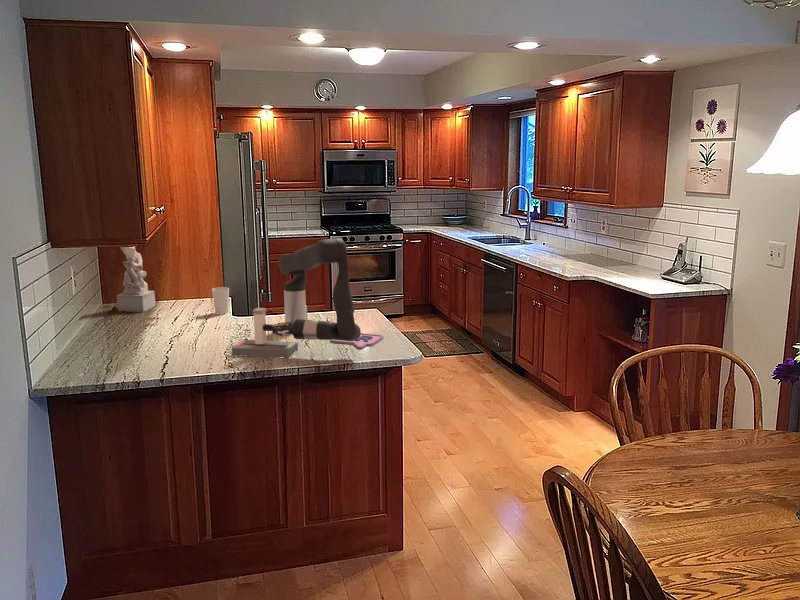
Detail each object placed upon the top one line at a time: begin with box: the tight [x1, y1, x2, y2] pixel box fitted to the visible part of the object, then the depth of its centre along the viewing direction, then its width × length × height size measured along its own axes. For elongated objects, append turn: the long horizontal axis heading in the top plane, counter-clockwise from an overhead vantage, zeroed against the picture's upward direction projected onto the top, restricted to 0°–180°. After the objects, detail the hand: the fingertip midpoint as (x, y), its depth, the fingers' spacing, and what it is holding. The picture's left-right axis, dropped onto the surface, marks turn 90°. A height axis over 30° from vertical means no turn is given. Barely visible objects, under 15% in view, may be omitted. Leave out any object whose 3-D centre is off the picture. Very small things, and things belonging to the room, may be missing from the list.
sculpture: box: [116, 246, 156, 313], centre depth 330 cm, size 13×13×35 cm
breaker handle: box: [252, 307, 267, 344], centre depth 255 cm, size 5×4×13 cm
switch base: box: [231, 339, 299, 359], centre depth 257 cm, size 12×22×3 cm, turn 79°
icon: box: [329, 332, 384, 350], centre depth 273 cm, size 19×2×20 cm
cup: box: [211, 286, 230, 315], centre depth 323 cm, size 8×8×12 cm
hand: (263, 327), depth 255 cm, fingers closed
